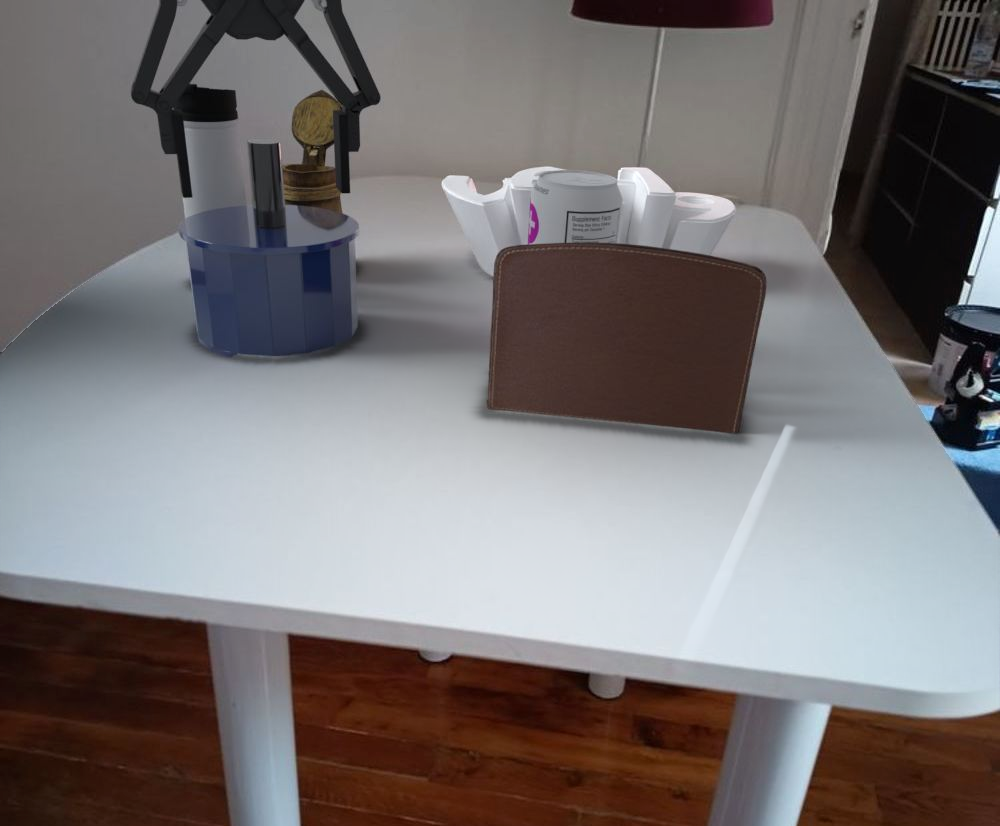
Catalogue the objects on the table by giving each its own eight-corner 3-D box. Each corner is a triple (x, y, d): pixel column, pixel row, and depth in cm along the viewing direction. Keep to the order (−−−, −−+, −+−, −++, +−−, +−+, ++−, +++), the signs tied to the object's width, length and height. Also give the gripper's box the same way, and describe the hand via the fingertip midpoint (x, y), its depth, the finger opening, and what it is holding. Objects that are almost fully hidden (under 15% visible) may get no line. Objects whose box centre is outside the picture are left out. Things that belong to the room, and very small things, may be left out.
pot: (163, 341, 83) (148, 236, 78) (264, 298, 95) (255, 205, 90) (296, 373, 78) (288, 263, 73) (385, 324, 90) (383, 226, 85)
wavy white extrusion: (431, 279, 103) (432, 182, 98) (444, 242, 117) (445, 155, 112) (741, 297, 103) (759, 200, 97) (716, 257, 117) (731, 171, 112)
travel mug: (180, 289, 96) (152, 81, 86) (212, 272, 102) (189, 75, 92) (235, 296, 95) (213, 86, 85) (263, 278, 101) (246, 80, 91)
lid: (140, 243, 78) (125, 142, 74) (255, 209, 91) (248, 121, 87) (290, 273, 73) (283, 166, 69) (391, 232, 85) (390, 139, 81)
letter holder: (738, 440, 71) (774, 259, 64) (485, 415, 73) (492, 236, 65) (728, 390, 79) (759, 225, 72) (502, 368, 81) (510, 206, 74)
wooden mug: (366, 250, 112) (362, 91, 103) (345, 283, 101) (338, 106, 92) (294, 246, 112) (283, 87, 103) (265, 278, 101) (250, 101, 92)
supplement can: (512, 346, 86) (521, 181, 79) (535, 319, 93) (545, 165, 85) (596, 359, 84) (614, 191, 77) (613, 331, 91) (631, 174, 83)
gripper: (64, -114, 62) (115, 206, 73) (415, -88, 70) (415, 197, 81) (68, -108, 68) (115, 186, 79) (391, -85, 76) (394, 180, 87)
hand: (267, 192), depth 80 cm, fingers open, 13 cm apart
